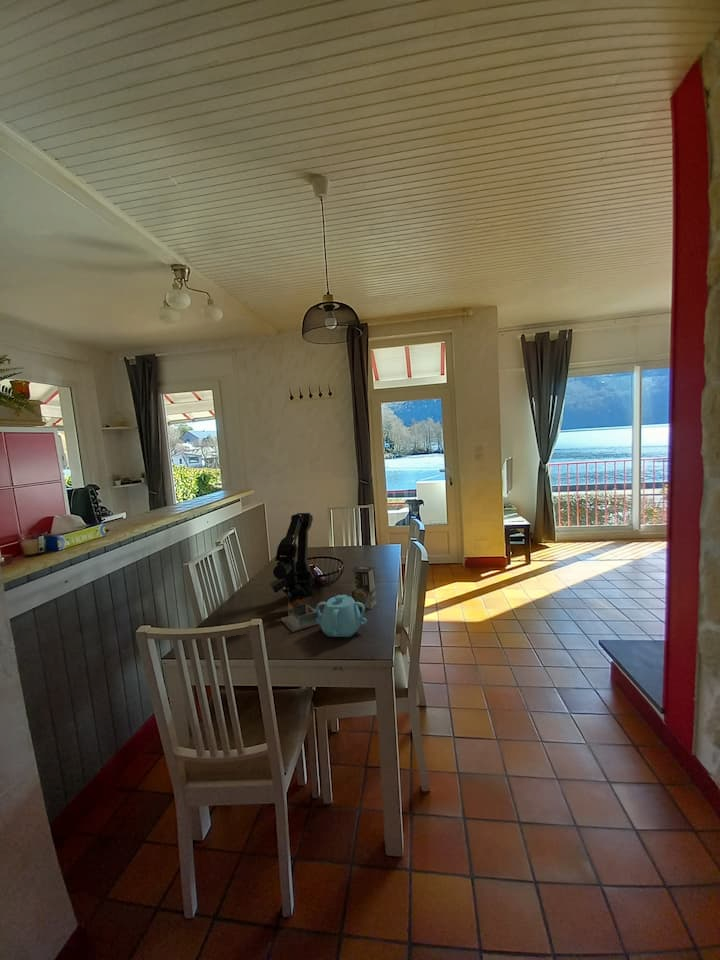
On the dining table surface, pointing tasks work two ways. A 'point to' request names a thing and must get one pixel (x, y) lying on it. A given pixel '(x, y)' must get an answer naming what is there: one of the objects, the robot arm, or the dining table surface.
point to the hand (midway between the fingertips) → (292, 605)
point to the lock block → (297, 607)
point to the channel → (301, 619)
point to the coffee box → (363, 586)
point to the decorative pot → (340, 616)
